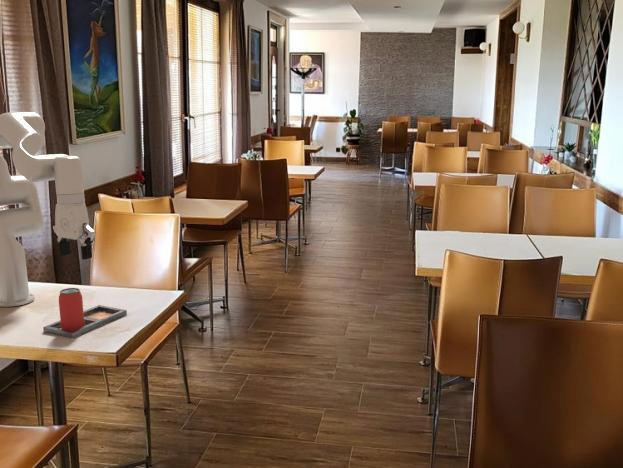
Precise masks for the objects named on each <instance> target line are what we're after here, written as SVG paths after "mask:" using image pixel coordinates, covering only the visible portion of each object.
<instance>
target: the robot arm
mask: <svg viewBox="0 0 623 468" xmlns="http://www.w3.org/2000/svg"><path fill="white" fill-rule="evenodd" d="M45 132H46V124H45V121H44V119H43V118H42V117H41V115H39V113H37V112H33V111H14V112H13V111H11V112H10V111H9V112H4V113H1V114H0V150H1V149H4V150H5V149H12V153H11V159H12V162H13V166H14V168H15V169H16V171H17V172H18V173H19V175H11V174H10V170H9V165H8V163H7V161H6V159H5V158H4V157H3V156H2V155H1V154H0V207H1V206H2V207H3V206H11V205H19V204H20V206H21V207H14V208H6V209H1V210H0V307H1V308H10V307H18V306H24V305H27V304H29V303H32V302H33V301H35V295H34V293H30V291H29V290H30V289H29V281H28V278H29V277H28V270H27V259H26V251H25V248H24V246H23V245H22V244H21V243H20V242H19V241H18V240H17V238H18V237H24V236H28V235H34V234H38V233H40V232H41V231H42V230H43V227H44V215H43V211H42V207H41V203H40V198H39V193H38V192H39V191H38V189H37V186H36V183H41V182H47V181H54V183H55V192H56V202H57V203H56V204H55V212H54V213H55V214H54V215H55V216H54V222H55V223H54V224H55V225H53V226H52V229H53V232H54V236H55V238H56V241H57V243H58V247H59V249H58V250H59V256H61V257H64V256H67V255H70V254H71V247H70V240H75V241H77V240H78V241H79V242H80V244H81V246H80V251H81V259H82V260H84V261H85V260H88V259H91V258H93V253H92V252H93V251H92V249H93V248H92V245H93V242H94V241H95V236H96V231H95V230H94V229H93V228H92V227H91V226H90V218H89V214H88V209H87V205H86V202H85V201H86V199H85V190H84V189H85V188H84V175H83V166H82V165H83V163H82V159H81V158H80V157H79V156H76V155H68V154H66V153H65V154H64V153H57V154H56V153H54V154H53V153H52V154H41V155H38V154H37V153H39V151H40V150H41V148H42V146H43V138H42V137H43V136H44V134H45Z"/></svg>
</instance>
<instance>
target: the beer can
mask: <svg viewBox="0 0 623 468" xmlns="http://www.w3.org/2000/svg"><path fill="white" fill-rule="evenodd" d="M80 290H81V289H80V288H78V287H68V288H63V289H61V290H60V291H59V294H58V295H59V296H58V309H59V319H60V320H59V321H61V327H60V329H63V330H68V331H74V330H77V329H79V328H81V327H84V326H85V324H84V313H83V311H84V304H83V302H84V301H83V295H82V293H81V291H80Z"/></svg>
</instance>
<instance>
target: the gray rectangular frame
mask: <svg viewBox="0 0 623 468" xmlns="http://www.w3.org/2000/svg"><path fill="white" fill-rule="evenodd" d="M83 313H84V327H81V328H79V329H77V330H74V331H68V330H63V329H61V321H60V320H57V321H55V322H53V323H50V324H47V325H46V326H43V329H42V330H43V331H42V332H43V333H47V334H51V335H56V336H60V337H66V338H69V339H74V338H76V337H79V336H81V335H83V334H86V333H88V332H91V331H93V330H95V329H97V328H99V327H102V326H104V325H106V324H109V323H111V322H113V321H115V320H118V319H120V318H123V317H124V316H126V315H127V314H128V311H127V309H123V308H118V307H112V306H108V305H107V306H106V305H101V304H98V305H95V306H93V307H91V308H88V309H86V310H83Z"/></svg>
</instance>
